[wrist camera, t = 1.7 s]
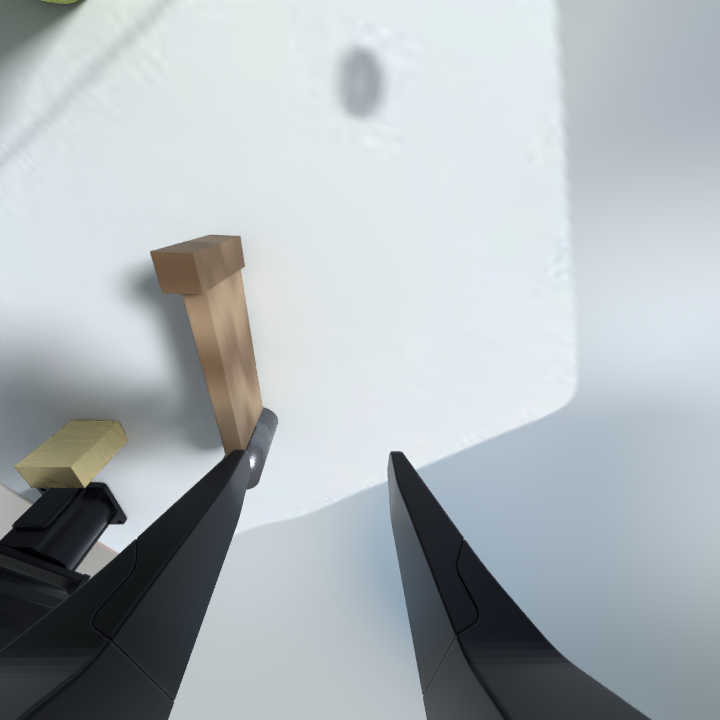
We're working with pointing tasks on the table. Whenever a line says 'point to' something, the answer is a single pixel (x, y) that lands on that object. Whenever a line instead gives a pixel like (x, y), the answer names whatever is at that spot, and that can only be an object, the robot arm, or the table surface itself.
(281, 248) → the table surface
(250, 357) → the wooden t-bar
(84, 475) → the block
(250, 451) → the grey metal cylinder
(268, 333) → the table surface
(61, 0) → the plant pot
